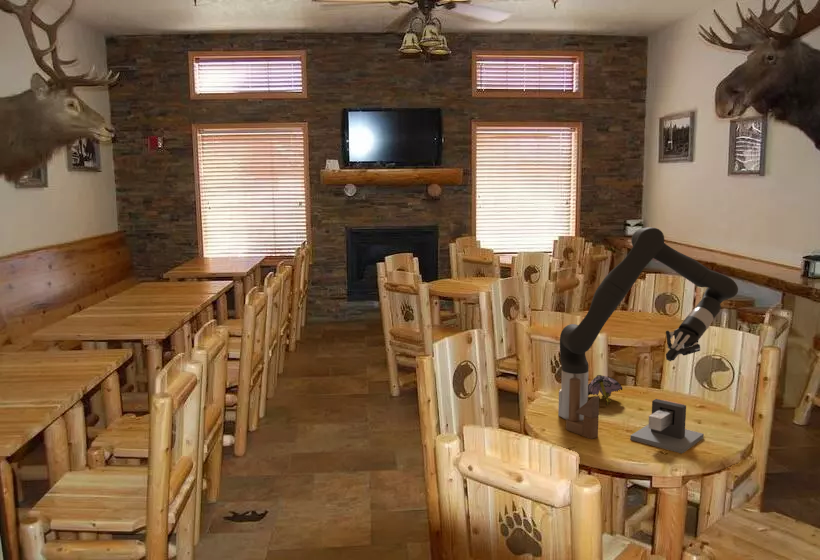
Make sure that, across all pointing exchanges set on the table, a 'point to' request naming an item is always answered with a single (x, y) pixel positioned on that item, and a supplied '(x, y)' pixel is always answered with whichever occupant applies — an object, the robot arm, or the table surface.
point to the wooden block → (582, 412)
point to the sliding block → (661, 418)
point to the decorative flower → (603, 386)
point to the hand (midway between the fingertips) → (668, 359)
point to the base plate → (667, 439)
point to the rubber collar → (679, 418)
